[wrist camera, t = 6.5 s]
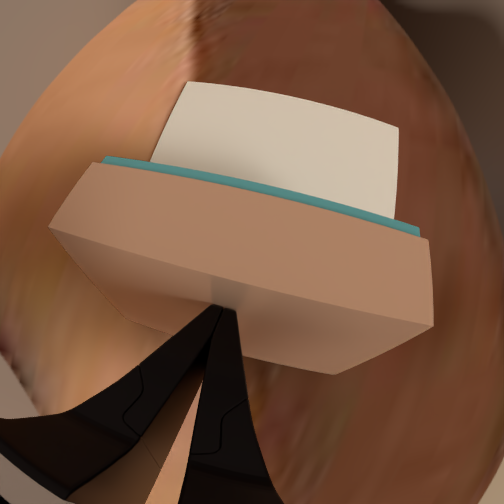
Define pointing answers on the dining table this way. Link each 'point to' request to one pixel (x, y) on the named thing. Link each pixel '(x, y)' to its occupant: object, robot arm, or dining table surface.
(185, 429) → the dining table surface
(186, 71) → the dining table surface
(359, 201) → the mat
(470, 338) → the dining table surface
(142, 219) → the tile
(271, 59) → the dining table surface
